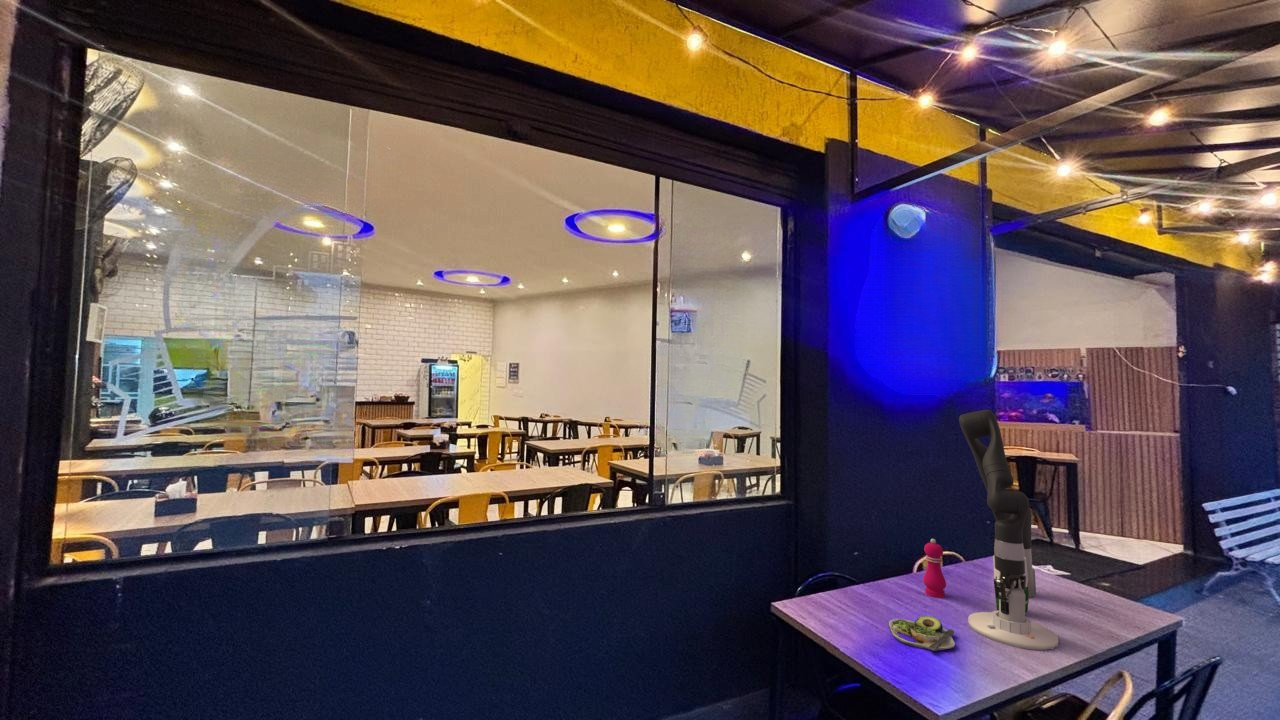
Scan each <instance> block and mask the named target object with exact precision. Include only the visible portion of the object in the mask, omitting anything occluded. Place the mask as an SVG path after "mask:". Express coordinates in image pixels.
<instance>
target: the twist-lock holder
mask: <svg viewBox="0 0 1280 720" xmlns="http://www.w3.org/2000/svg"><path fill="white" fill-rule="evenodd" d="M967 620H968V621H967V622H968V626H969V627H970V628H971V629H972V631H974V632H976V633H978V635H981V636H982V637H985V638H987V639H989V640H991V641H994V642H998V643H1000V644H1002V645H1007V646H1011V647H1014V648H1015V647H1016V648H1019V649H1025V650H1030V651H1031V650H1033V651H1048V650H1047V649H1051V650H1053V649H1052V648H1055V647H1056V648H1058V647H1059V644H1058V643H1059V636H1058V635H1057V634H1056V633H1055V632H1054V631H1052V630H1051V629H1049V628H1048V627H1046V626H1044V625H1042V624H1039V623H1037V622H1036V621H1032V620H1030V618H1029V617H1027V616H1025V622H1020V623H1018V622H1012V621H1008V620H1005V619H1002V618H1000V617H999V610H993V611H991V612H990V611H981V612H973V613H970V614H969V616H968V619H967ZM1057 646H1058V647H1057ZM1056 648H1055V649H1056Z"/></svg>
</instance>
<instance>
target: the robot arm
mask: <svg viewBox="0 0 1280 720" xmlns="http://www.w3.org/2000/svg"><path fill="white" fill-rule="evenodd" d="M958 422H959V426H960V428H961V431H962V434H963V435H964V437H965V439H966V442H967V444H968V446H969V448H970V450H971V452H972V455H973V458H974V460H975V464H976V466H977V469H978V472H979V475H980V477H981V480H982V482H983V485H984V486H985V490H986V492H987V497H986V503H987V506H988V507H989V508H990V510H991V511H992V513H993V517H994V519H995V523H994V543H993V544H994V546H993V550H994V554H995V568H996V569H997V570H998V571H1000V577H999V579H993V585H994V594H995V595H994V596H995V597H996V598H997V599H1000V600H1001V612H1002V613H1004V614H1007V615H1009V601H1010V600H1009V594H1011V593H1012V590H1014V588H1016V589H1017V588H1022V589H1023V590H1024V593H1025V587H1026V576H1024V575H1023V574H1025V558H1026V563H1027V572H1028V592H1029V599H1030V598H1033V597H1037V588H1036V587H1037V585H1036V584H1037V583H1036V582H1037V581H1036V569H1034V568H1033V557H1032V511H1031V508H1030V501H1029V498H1028V496H1027V495H1026V494H1025V493H1024V492H1022V491H1019V490H1007V489H1009V488H1011V487H1012V486H1013V485H1014V483H1015V482H1014V481H1015V480H1014V477H1013V475H1012V471H1011V469H1010V467H1009V464H1008V460H1007V457H1006V453H1005V452H1006V451H1005V447H1004V442H1003V437H1002V432H1001V429H1000V425H999V422H998V419H997V417H996V415H995V414H994V412H993V411H992V410H990V409H983V410H978V411H977V410H976V411H972V412H971V411H970V412H966V413H963V414H960V415H959V419H958ZM986 437H990V442H989V445H988V446H986V445H985V444H984V443H982V442H981V441H980V438H986ZM994 554H993V555H994ZM1005 588H1007V589H1010V590H1009V591H1006V590H1005ZM999 592H1000V593H999ZM1006 593H1007V596H1006ZM996 598H995V599H996Z"/></svg>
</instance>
